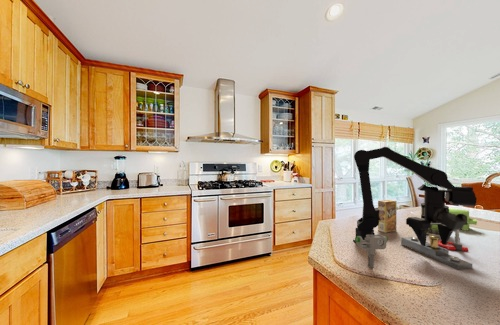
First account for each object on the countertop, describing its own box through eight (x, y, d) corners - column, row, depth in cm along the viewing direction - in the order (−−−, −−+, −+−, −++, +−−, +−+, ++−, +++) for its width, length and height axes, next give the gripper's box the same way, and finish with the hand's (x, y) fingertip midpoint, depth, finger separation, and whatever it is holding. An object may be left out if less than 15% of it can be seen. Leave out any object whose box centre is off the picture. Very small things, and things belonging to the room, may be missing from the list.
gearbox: (429, 225, 117) (429, 209, 117) (432, 221, 123) (432, 206, 123) (476, 233, 103) (476, 214, 103) (477, 228, 109) (476, 211, 109)
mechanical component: (353, 264, 68) (353, 234, 68) (382, 264, 69) (382, 234, 69) (358, 269, 65) (359, 238, 65) (389, 268, 66) (389, 237, 66)
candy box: (385, 233, 100) (386, 202, 100) (377, 230, 104) (377, 200, 104) (396, 231, 104) (397, 200, 104) (388, 228, 108) (388, 199, 108)
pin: (434, 257, 74) (434, 238, 74) (426, 254, 77) (426, 235, 77) (440, 257, 75) (441, 237, 75) (432, 253, 77) (433, 235, 78)
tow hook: (430, 242, 90) (447, 250, 81) (429, 213, 91) (446, 217, 82) (452, 244, 89) (471, 252, 80) (451, 214, 90) (470, 218, 80)
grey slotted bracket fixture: (458, 269, 66) (458, 257, 66) (401, 244, 86) (401, 235, 86) (472, 268, 67) (472, 256, 67) (412, 243, 87) (412, 234, 87)
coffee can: (453, 238, 95) (453, 207, 95) (425, 235, 99) (425, 205, 99) (442, 231, 104) (442, 204, 104) (417, 228, 108) (417, 202, 108)
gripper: (436, 208, 67) (435, 256, 67) (482, 207, 70) (481, 253, 70) (405, 202, 78) (404, 243, 77) (446, 201, 81) (445, 241, 81)
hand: (433, 245), depth 76 cm, fingers open, 9 cm apart
